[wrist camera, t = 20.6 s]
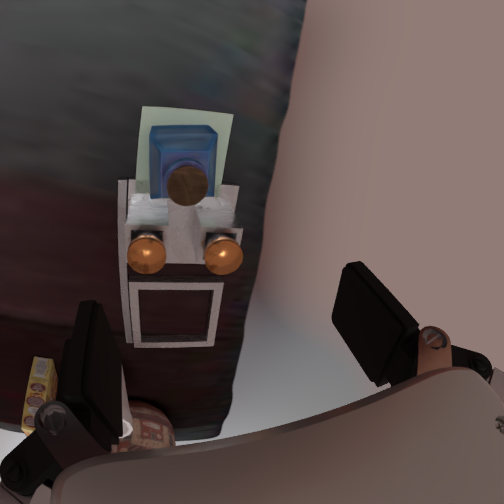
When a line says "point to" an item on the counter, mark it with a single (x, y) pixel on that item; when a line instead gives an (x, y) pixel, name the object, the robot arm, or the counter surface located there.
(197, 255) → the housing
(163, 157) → the perfume bottle
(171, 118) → the mat
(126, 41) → the counter surface
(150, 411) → the pottery
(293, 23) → the counter surface
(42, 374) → the candy box
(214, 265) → the plunger
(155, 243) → the plunger
